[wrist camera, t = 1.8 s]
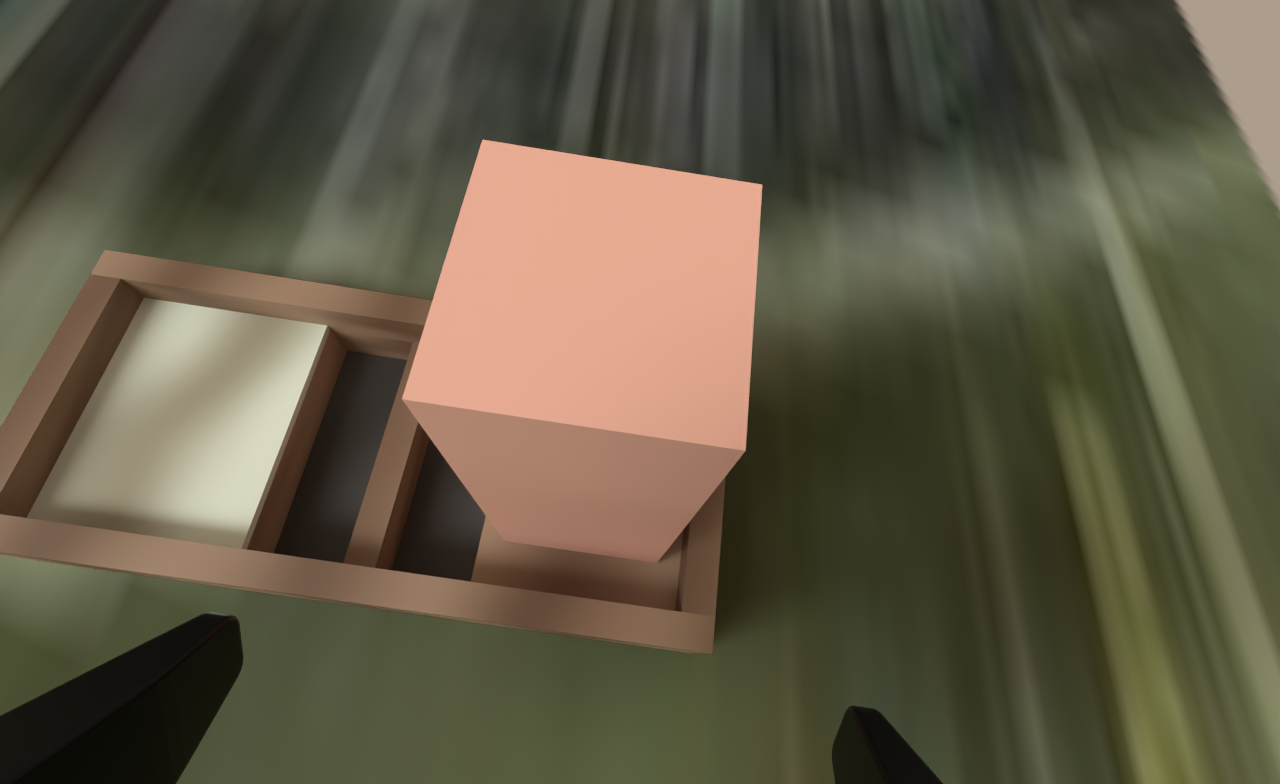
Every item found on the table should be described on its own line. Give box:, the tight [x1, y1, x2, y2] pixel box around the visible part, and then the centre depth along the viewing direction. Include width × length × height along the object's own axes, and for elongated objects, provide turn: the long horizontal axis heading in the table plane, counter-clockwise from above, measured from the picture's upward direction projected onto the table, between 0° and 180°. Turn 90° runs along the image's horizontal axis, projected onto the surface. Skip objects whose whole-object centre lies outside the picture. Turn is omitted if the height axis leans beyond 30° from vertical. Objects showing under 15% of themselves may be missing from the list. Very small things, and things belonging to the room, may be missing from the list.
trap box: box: [0, 250, 726, 654], centre depth 21 cm, size 22×10×4 cm, turn 82°
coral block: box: [402, 140, 762, 563], centre depth 15 cm, size 5×5×12 cm
